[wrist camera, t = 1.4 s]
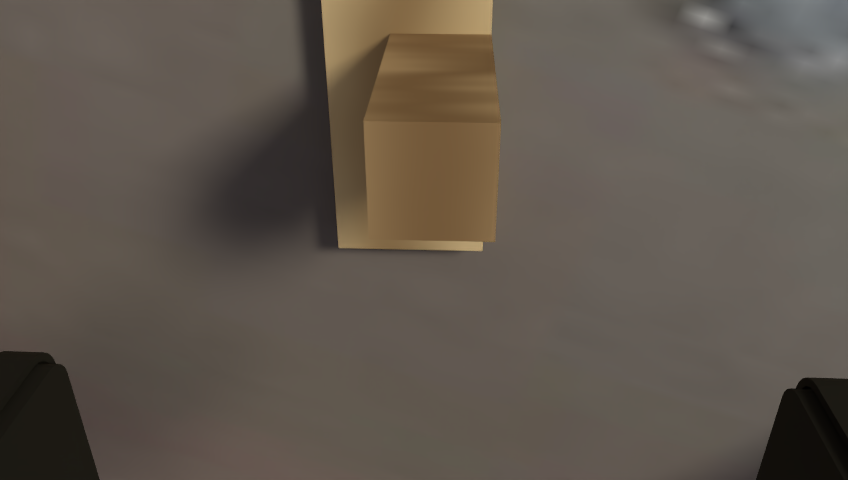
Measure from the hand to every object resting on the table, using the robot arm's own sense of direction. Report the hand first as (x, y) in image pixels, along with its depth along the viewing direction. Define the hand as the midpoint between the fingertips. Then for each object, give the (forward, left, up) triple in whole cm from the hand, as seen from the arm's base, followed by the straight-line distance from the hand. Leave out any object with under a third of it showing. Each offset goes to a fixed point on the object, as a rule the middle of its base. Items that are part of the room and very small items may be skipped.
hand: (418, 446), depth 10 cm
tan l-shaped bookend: (0, 0, -16) cm, 17 cm away
